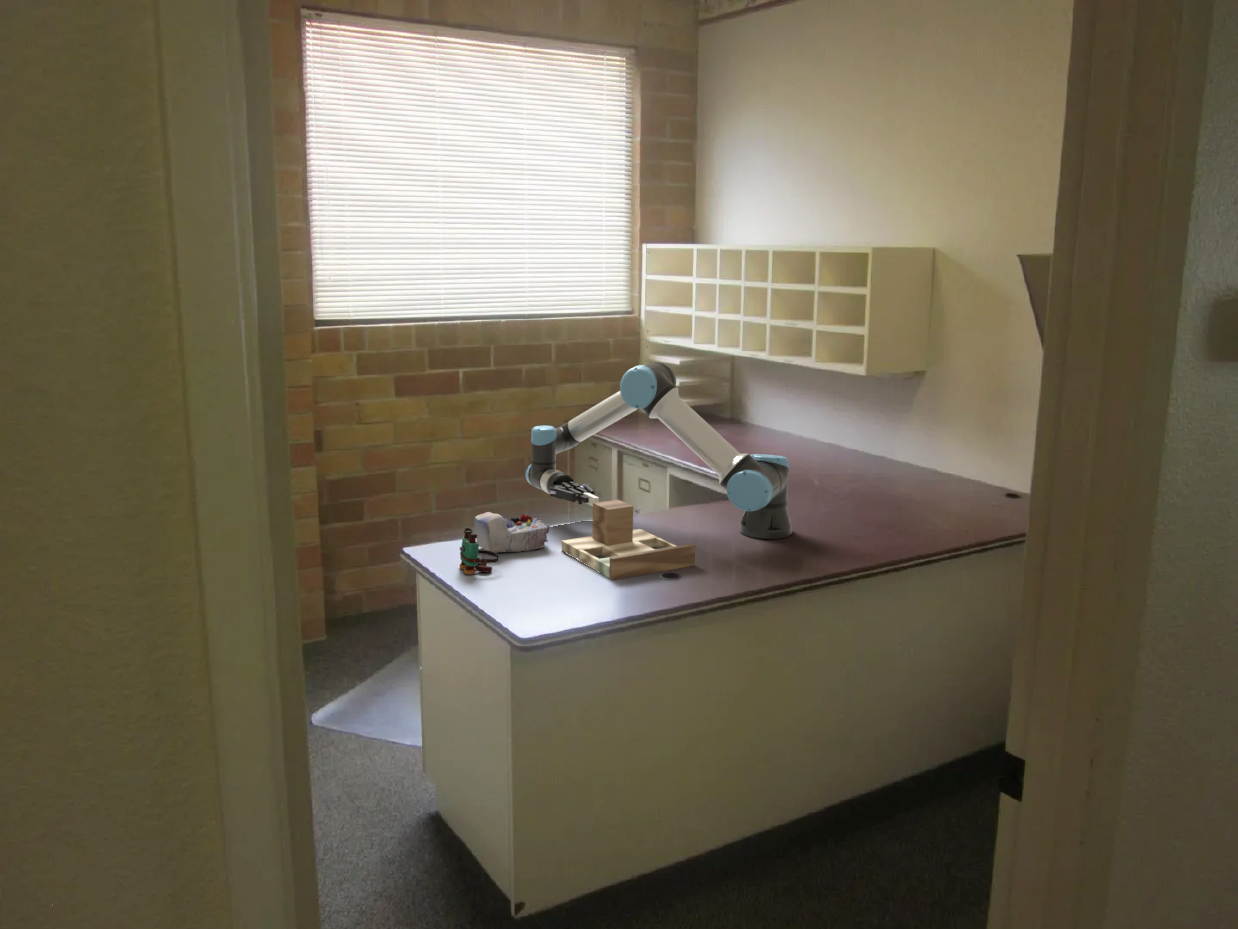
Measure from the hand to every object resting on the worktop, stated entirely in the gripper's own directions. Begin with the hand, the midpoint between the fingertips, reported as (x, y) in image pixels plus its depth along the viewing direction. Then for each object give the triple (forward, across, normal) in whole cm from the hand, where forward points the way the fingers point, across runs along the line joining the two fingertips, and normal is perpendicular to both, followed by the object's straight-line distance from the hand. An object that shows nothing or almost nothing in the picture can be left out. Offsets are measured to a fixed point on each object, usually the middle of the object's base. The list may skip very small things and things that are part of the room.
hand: (596, 502), depth 279 cm
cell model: (-6, +22, -12) cm, 26 cm away
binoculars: (+7, +38, -12) cm, 41 cm away
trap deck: (+17, 0, -11) cm, 20 cm away
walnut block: (+9, 0, -8) cm, 12 cm away
